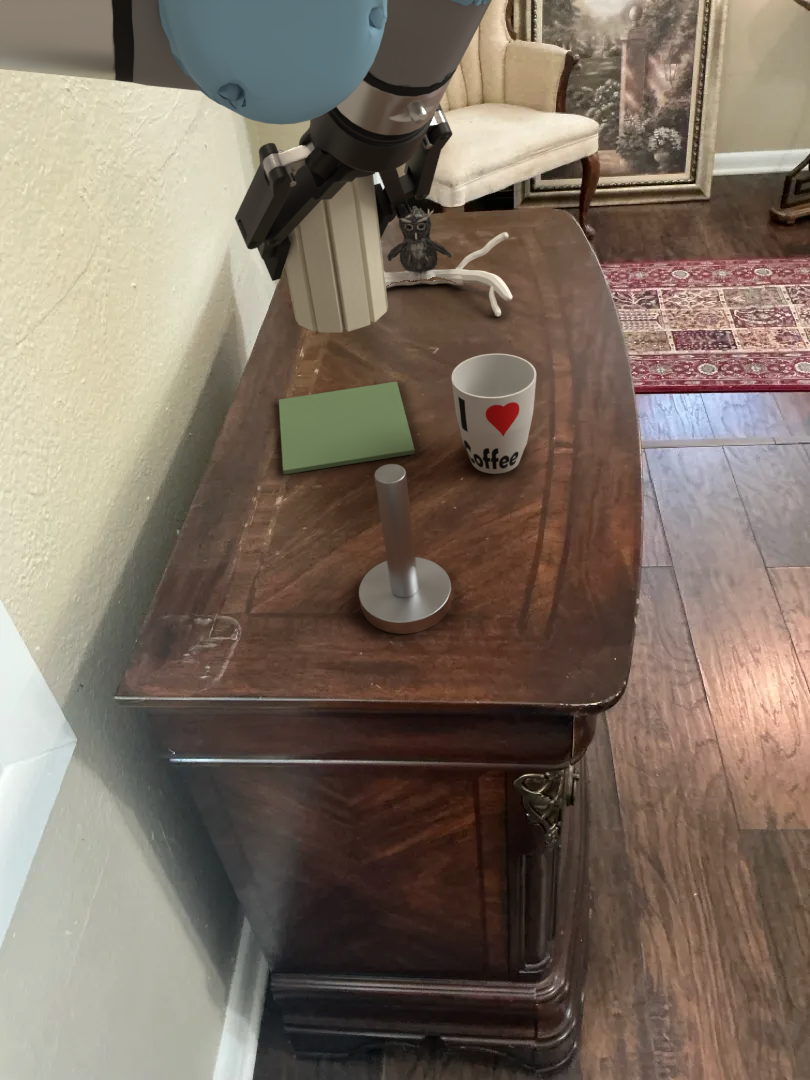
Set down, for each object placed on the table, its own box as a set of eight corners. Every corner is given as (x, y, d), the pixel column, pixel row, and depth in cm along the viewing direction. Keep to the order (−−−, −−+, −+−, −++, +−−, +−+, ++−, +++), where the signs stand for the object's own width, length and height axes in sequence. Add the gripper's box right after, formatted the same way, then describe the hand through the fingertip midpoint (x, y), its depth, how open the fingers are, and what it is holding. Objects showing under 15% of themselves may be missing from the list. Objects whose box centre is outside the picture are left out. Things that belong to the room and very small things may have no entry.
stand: (365, 641, 72) (343, 514, 63) (356, 576, 78) (334, 451, 69) (459, 625, 73) (450, 496, 63) (443, 561, 79) (432, 435, 69)
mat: (283, 474, 91) (282, 470, 90) (279, 403, 101) (278, 399, 101) (415, 454, 91) (414, 449, 91) (397, 385, 102) (396, 381, 101)
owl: (511, 262, 121) (511, 188, 110) (512, 337, 115) (512, 267, 104) (336, 271, 124) (319, 199, 113) (328, 345, 118) (309, 277, 107)
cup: (445, 475, 88) (439, 391, 81) (471, 431, 93) (467, 348, 87) (522, 489, 85) (522, 403, 79) (544, 442, 91) (546, 358, 84)
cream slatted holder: (297, 339, 72) (269, 193, 64) (293, 295, 78) (267, 157, 70) (392, 325, 72) (376, 178, 64) (381, 283, 78) (365, 144, 70)
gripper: (242, 183, 50) (219, 327, 71) (548, 102, 56) (441, 257, 77) (191, 64, 50) (184, 244, 71) (502, -4, 56) (409, 180, 77)
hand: (318, 250), depth 74 cm, fingers closed on cream slatted holder, 8 cm apart
